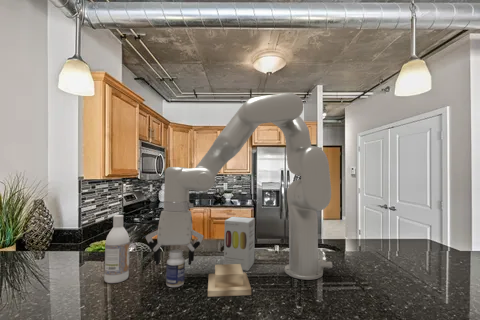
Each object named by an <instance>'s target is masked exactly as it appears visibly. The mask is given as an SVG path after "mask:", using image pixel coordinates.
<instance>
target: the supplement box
mask: <svg viewBox="0 0 480 320" xmlns="http://www.w3.org/2000/svg"><path fill="white" fill-rule="evenodd" d="M255 219H256V218H255V217H241V216H240V217H239V216H231V217H229V218H226V219H225V220H224V231H223V232H224V236H223V240H224V241H223V244H224V245H223V264H241V267H242V271H246V272H247V271H249V270H250V269H251V267H252V266H253V265H254V264H255V236H256V233H255V232H256V231H255V228H256V226H255V225H256V220H255Z"/></svg>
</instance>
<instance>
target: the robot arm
mask: <svg viewBox="0 0 480 320" xmlns="http://www.w3.org/2000/svg"><path fill="white" fill-rule="evenodd" d="M303 111H304V102H303V99H302V98H301V97H300V96H299V95H297V94H296V93H293V92H283V93H276V94H275V93H274V94H268V95H260V96H255V97H251V98H249V99H246V101H245V102H244V103H243V104H242V105H241V106H240V108H239V109H238V110H237V112H235V114H234V115H233V117H231V119H230V120H229V122H228V123H227V124H226V126H225V127H224V128H223V130H221V131H220V133H219V134H218V136H217V137H216V139H215V140H214V142H213V143H212V145H211V146H210V148H209V149H208V150H207V152H206V153H205V155H204V156H203V157H202V159H201V160H199V162H198V163H197V165H196V166H195V167H185V166H169V167H167V168H166V169H165V171H164V190H163V191H164V193H163V210H161V211H160V215H159V221H158V228H157V229H156V230H155V231H153V232H150V233H149V234H147V235H145V239H146V241H147V243H148V246H149V247H150V248H151V249H152V251H153V262H155V266H158V265H159V264H160V263H161V255H162V254H161V251H162V250H161V248H160V247H162V246H187V248H188V249H189V250H188V265H189V266H191V265H192V262H194V260H195V250H196V249H197V248H198V247H199V246H200V245H201V243H202V241H203V240H204V235H203V234H201V233H199V232H198V231H196V230H194V229H193V216H192V211H191V210H189V209H193V208H194V202H193V203H191V202H190V191H197V192H207V191H210V189H212V188H213V186H214V185H215V182H216V176H217V175H218V174H219V172H221V170H222V168H223V167H224V166H225V165H226V164H227V163H228V162H229V161H230V160H232V159H233V158H235V156H237V155H238V153H240V151H241V150H242V148H243V147H244V145H246V143H247V142H248V141H249V139H250V138H251V136H252V135H253V134H254V132H255V131H256V130H257V129H258V128H259V126H261V125H262V124H270V123H272V124H273V125H275V126H276V127H277V128H278V129H280V131H281V132H282V134H283V136H284V141H285V148H286V159H287V160H286V162H287V167H288V170H289V172H290V173H291V174H293V175H296V176H300V178H301V179H297V180H294V181H291V183H289V185H288V188H287V190H286V201H287V207H288V230H289V231H288V234H289V235H288V247H289V248H288V249H289V250H288V251H289V254H288V255H289V259H288V260H289V262H288V263H289V264H287V265H285V266H284V272H285V274H286V275H287V276H289V277H291V278H295V279H298V280H306V281H311V280H318V279H320V278H322V276H323V274H324V271H323V269H324V268H326V269H327V268H329V269H331V268H333V262H332V261H325V260H326V259H321V260H320V259H319V251H318V250H319V244H318V243H319V239H318V238H319V237H318V236H319V232H318V231H319V227H318V223H319V222H318V221H319V220H318V214H317V211H318V212H320V211H323V210H325V209H326V208H327V207H328V206H329V204H330V202H331V199H332V185H331V184H332V183H331V174H330V173H331V172H330V165H329V159H328V157H327V156H328V155H327V154H326V153H325V151H324V150H323V149H322V148H320V147H318V146H314V145H312V140H311V135H310V130H309V127H308V125H307V124H306V122H305V121H304V119H303V118H302V117H301V115H302V113H303ZM156 236H157V237H156ZM154 237H156V240H157V241H156V242H157V243H156V242H155V241H154V240H153V238H154ZM193 237H195V238H197V241H196V242H195V243H193V241H192V240H193Z"/></svg>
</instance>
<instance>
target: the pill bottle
mask: <svg viewBox="0 0 480 320" xmlns="http://www.w3.org/2000/svg"><path fill="white" fill-rule="evenodd" d="M168 255H169V257H168V258H167V260H166V271H165V272H166V274H165V275H166V276H165V277H166V278H165V284H166V286H167V287H168V288H169V287H170V288H178V287H181V286H183V285H184V283H185V277H186V276H185V273H186V268H185V265H186V262H185V261H186V260H185V258H184V257H183V255H184V252H183V250H181V249H172V250H169V253H168Z"/></svg>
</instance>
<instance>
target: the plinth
mask: <svg viewBox="0 0 480 320" xmlns="http://www.w3.org/2000/svg"><path fill="white" fill-rule="evenodd" d="M231 296H234V297H235V296H237V297H238V296H252V287H251V284H250V280H249V278H248V274H247V271H246V272H244V270H242V267H241V264H224V263H222V264H221V263H220V264H215V266H214V273H208V283H207V297H209V298H211V297H231Z"/></svg>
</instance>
